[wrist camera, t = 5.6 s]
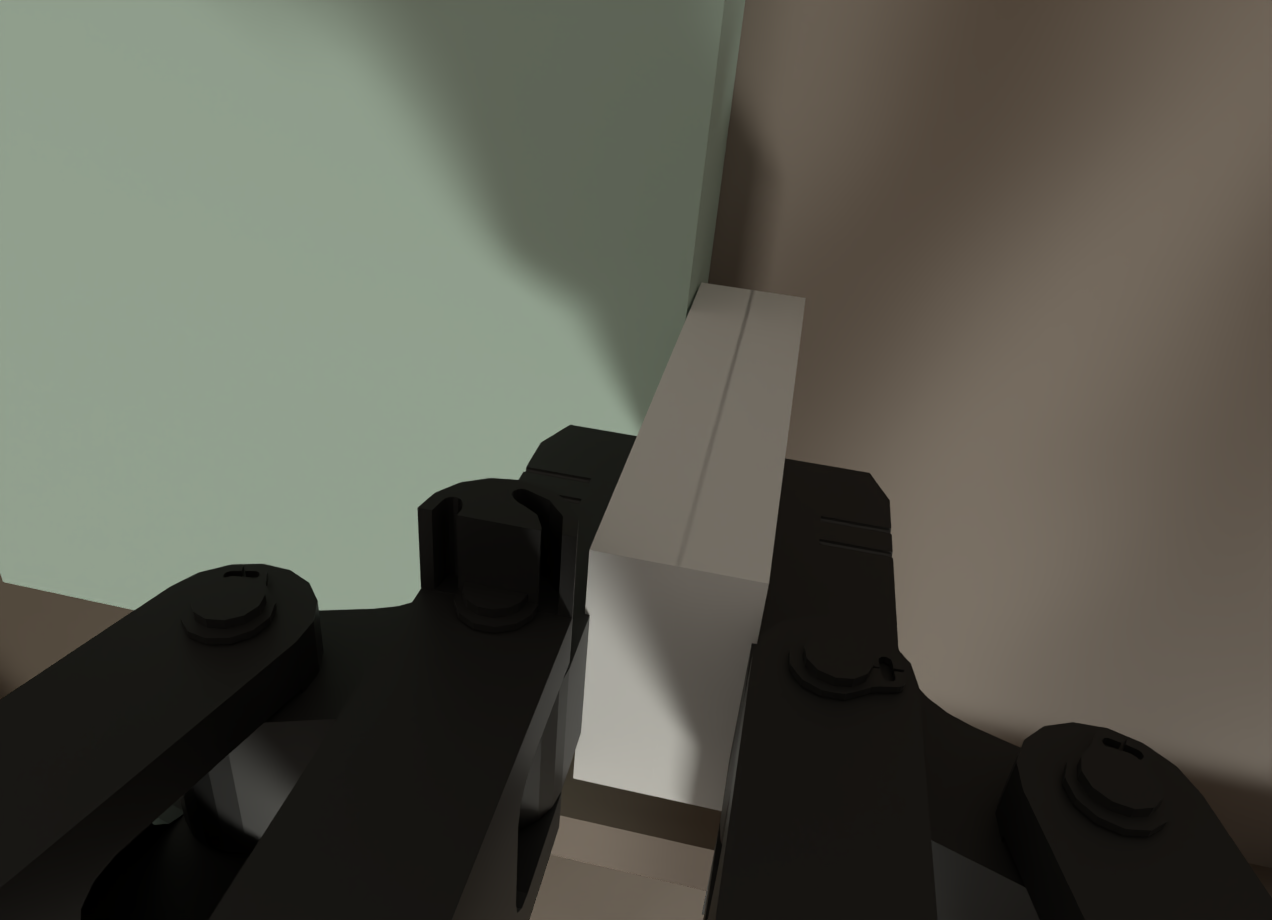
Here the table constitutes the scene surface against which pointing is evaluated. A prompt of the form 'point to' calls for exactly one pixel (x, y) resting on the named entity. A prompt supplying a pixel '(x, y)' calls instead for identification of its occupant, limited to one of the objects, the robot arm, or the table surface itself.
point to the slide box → (1024, 363)
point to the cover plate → (330, 267)
